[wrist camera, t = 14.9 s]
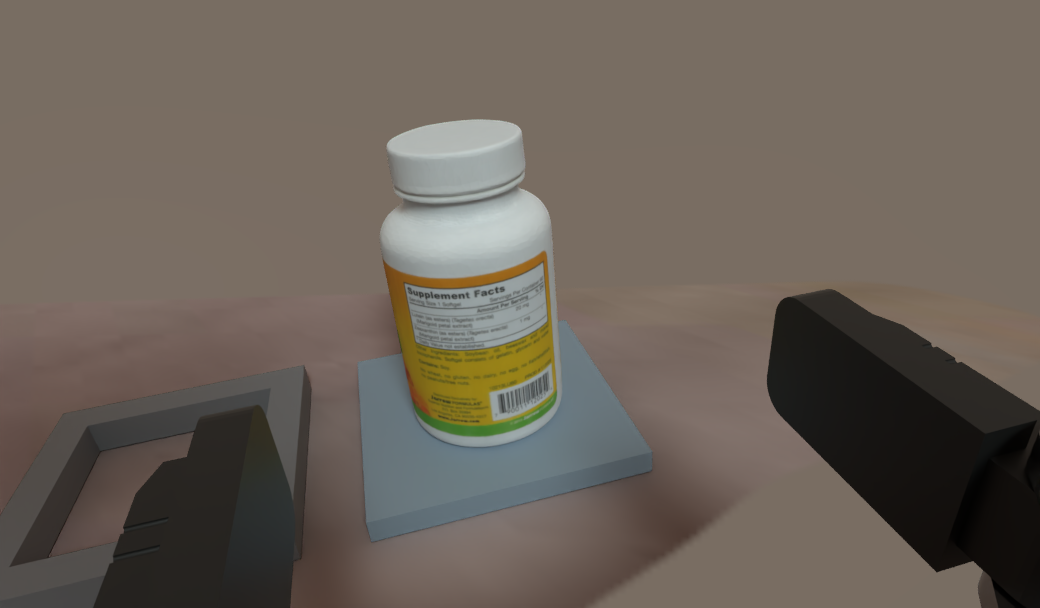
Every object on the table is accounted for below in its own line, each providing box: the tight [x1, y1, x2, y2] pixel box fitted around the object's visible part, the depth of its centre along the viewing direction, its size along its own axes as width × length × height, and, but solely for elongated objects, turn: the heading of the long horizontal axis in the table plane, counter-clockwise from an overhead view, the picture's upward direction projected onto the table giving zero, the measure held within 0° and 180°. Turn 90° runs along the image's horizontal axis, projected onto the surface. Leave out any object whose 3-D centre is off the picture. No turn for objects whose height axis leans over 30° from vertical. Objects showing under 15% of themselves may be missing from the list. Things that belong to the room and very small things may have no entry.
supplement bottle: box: [380, 120, 562, 447], centre depth 21 cm, size 5×5×10 cm
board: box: [358, 320, 652, 542], centre depth 24 cm, size 9×9×1 cm
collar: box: [0, 365, 311, 608], centre depth 22 cm, size 9×9×1 cm
